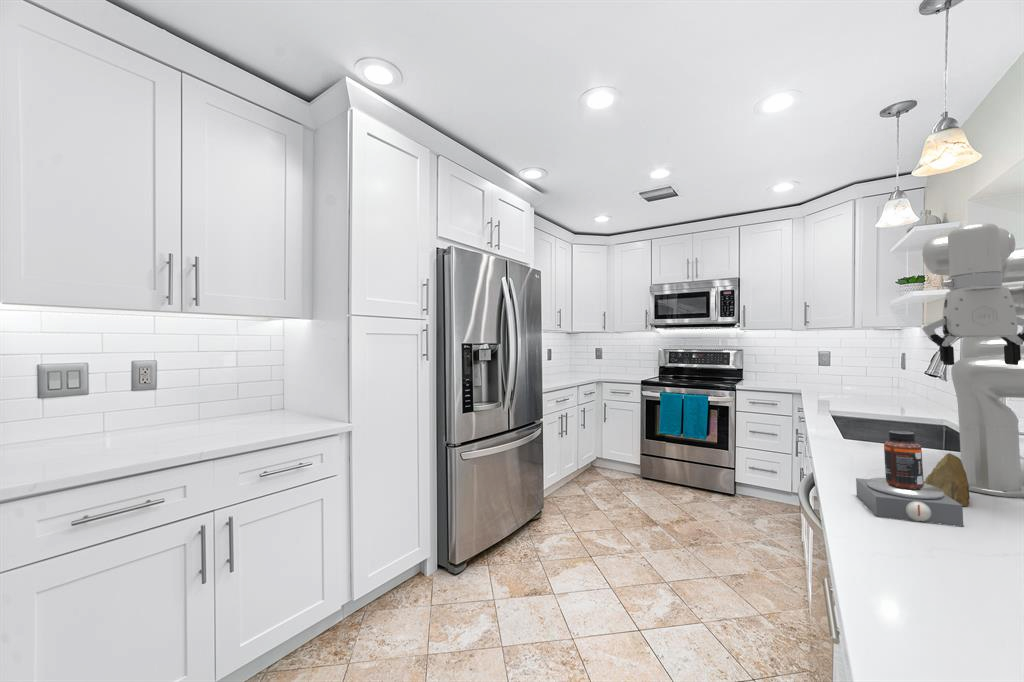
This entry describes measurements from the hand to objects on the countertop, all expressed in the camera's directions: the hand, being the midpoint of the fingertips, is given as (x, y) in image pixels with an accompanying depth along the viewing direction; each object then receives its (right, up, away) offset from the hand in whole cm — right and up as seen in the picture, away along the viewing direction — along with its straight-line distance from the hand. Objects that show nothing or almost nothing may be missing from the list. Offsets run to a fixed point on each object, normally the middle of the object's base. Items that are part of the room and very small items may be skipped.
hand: (979, 364), depth 90 cm
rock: (-1, -31, +6) cm, 32 cm away
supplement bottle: (-15, -26, 0) cm, 30 cm away
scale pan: (-16, -27, 0) cm, 31 cm away
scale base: (-16, -31, 0) cm, 34 cm away
